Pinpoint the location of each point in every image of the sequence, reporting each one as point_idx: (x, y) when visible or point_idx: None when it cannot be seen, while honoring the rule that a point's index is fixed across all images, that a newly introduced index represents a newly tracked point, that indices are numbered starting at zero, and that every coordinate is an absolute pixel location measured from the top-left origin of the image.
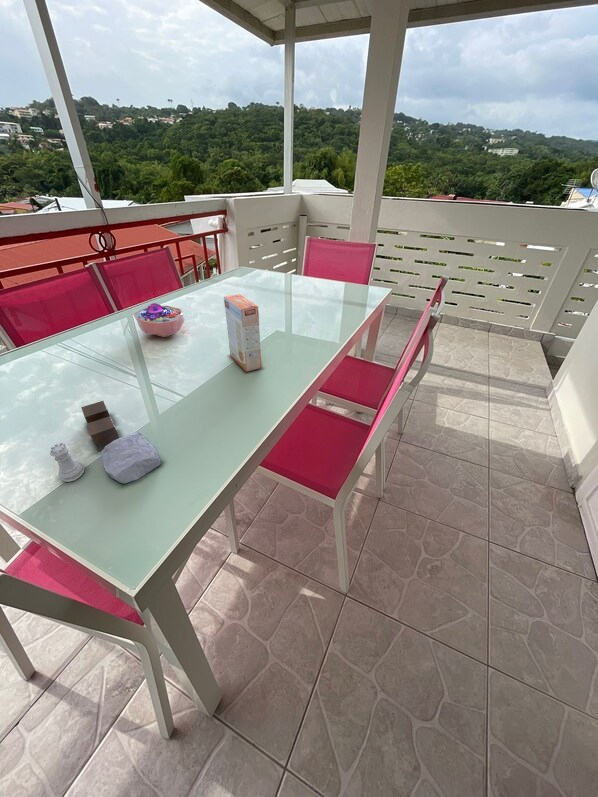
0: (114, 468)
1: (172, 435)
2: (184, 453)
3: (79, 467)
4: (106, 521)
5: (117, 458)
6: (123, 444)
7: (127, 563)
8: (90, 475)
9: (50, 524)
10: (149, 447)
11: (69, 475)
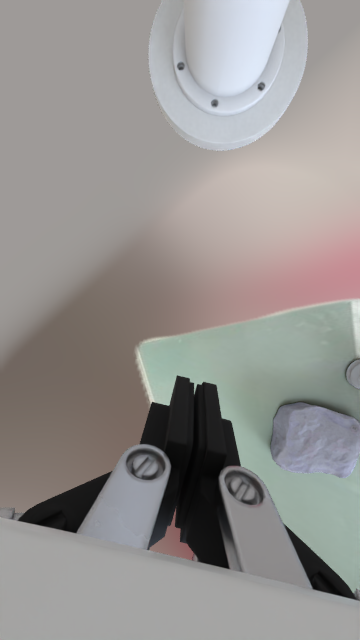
0: (305, 417)
1: (309, 489)
2: (263, 478)
3: (358, 387)
4: (242, 365)
5: (320, 429)
6: (339, 450)
7: (170, 354)
8: (337, 385)
9: (297, 319)
10: (295, 469)
11: (355, 371)
